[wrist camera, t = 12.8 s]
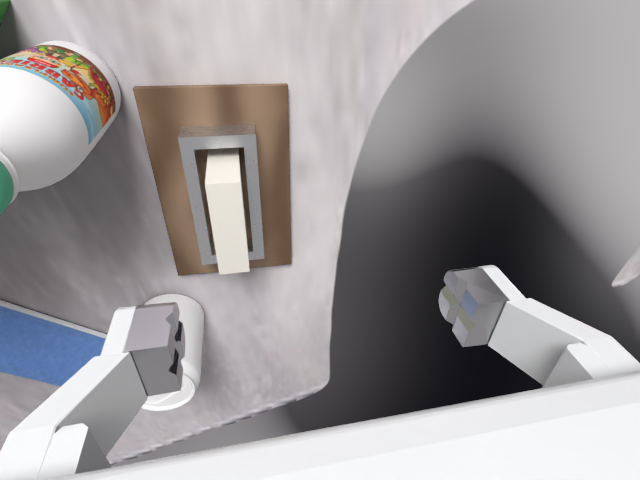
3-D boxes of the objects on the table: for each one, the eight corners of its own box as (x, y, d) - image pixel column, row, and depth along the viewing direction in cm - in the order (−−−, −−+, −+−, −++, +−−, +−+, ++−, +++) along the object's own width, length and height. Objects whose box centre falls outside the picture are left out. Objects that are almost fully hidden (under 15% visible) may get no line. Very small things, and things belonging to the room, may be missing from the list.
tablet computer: (-72, 348, 47) (-78, 357, 46) (-39, 282, 43) (-45, 290, 42) (91, 387, 57) (88, 395, 56) (130, 336, 53) (128, 344, 52)
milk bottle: (127, 133, 37) (54, 257, 21) (36, 126, 35) (-121, 257, 19) (116, 46, 33) (14, 118, 17) (12, 32, 31) (-215, 100, 15)
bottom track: (253, 124, 38) (255, 134, 36) (262, 243, 47) (264, 258, 44) (180, 126, 37) (177, 137, 35) (203, 249, 46) (202, 264, 43)
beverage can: (126, 308, 49) (102, 390, 40) (178, 280, 48) (167, 357, 39) (167, 341, 54) (155, 421, 45) (216, 316, 53) (214, 393, 44)
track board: (286, 83, 37) (287, 85, 37) (290, 260, 50) (291, 263, 49) (134, 86, 35) (133, 88, 34) (178, 271, 48) (178, 275, 47)
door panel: (239, 147, 39) (241, 182, 33) (247, 228, 45) (250, 271, 39) (207, 148, 39) (203, 184, 32) (219, 230, 44) (218, 274, 38)
